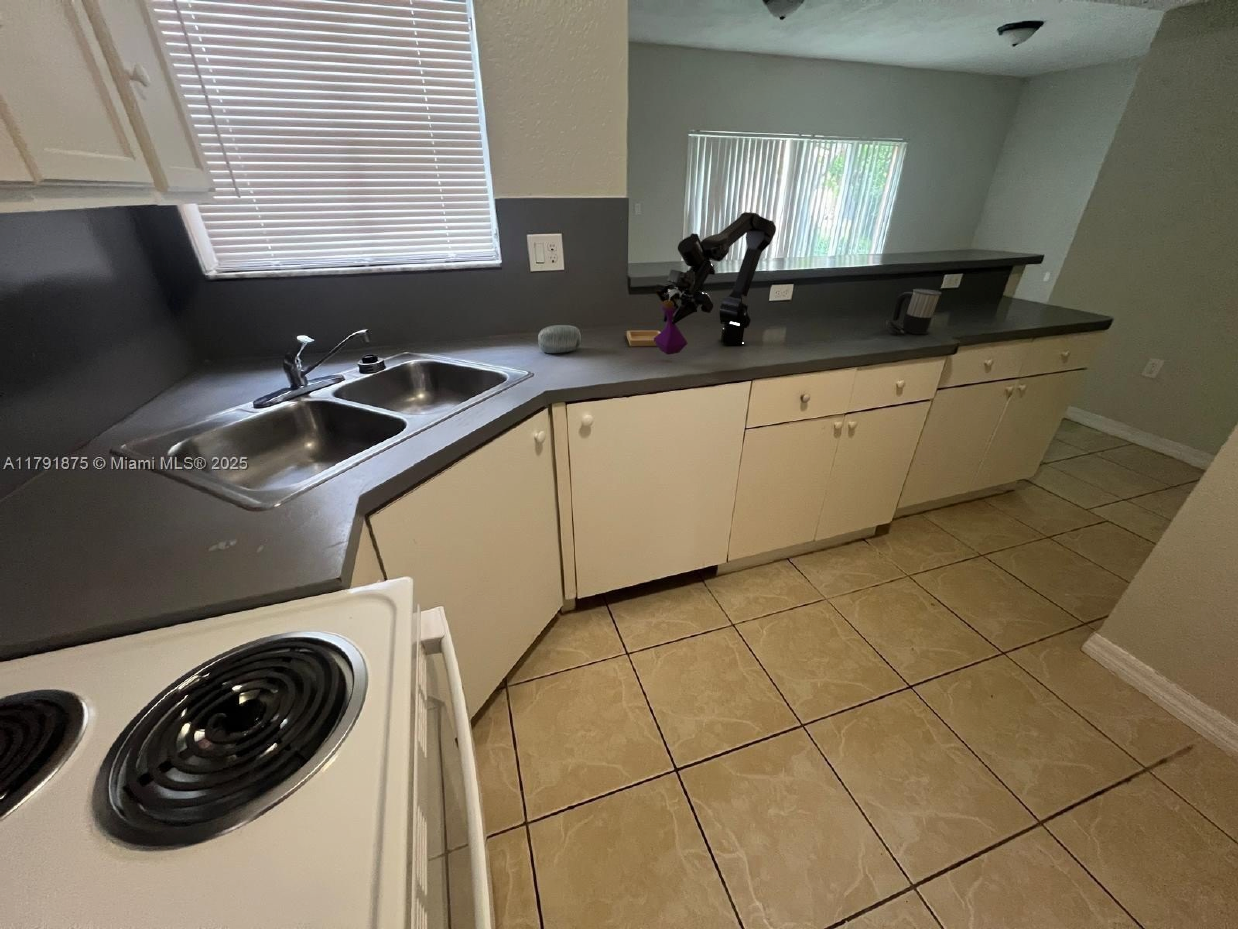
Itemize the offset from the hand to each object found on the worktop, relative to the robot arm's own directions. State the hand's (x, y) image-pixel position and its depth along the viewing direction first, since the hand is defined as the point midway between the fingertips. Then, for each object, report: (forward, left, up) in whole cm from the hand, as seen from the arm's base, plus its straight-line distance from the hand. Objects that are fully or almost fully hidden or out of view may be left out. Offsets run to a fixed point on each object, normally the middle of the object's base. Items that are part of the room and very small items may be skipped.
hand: (668, 322), depth 140 cm
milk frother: (-98, -34, -13) cm, 104 cm away
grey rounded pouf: (+32, -14, -13) cm, 37 cm away
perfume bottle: (-1, -1, -9) cm, 9 cm away
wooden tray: (+3, -25, -13) cm, 28 cm away
